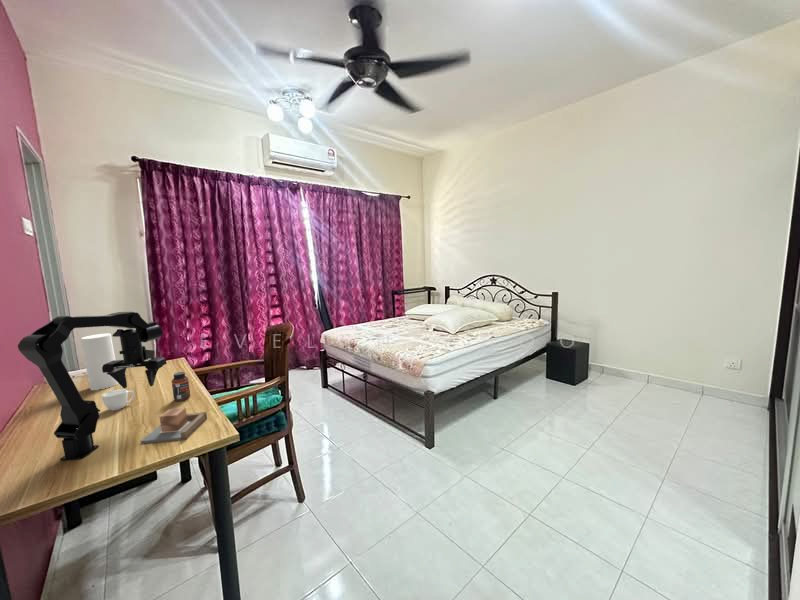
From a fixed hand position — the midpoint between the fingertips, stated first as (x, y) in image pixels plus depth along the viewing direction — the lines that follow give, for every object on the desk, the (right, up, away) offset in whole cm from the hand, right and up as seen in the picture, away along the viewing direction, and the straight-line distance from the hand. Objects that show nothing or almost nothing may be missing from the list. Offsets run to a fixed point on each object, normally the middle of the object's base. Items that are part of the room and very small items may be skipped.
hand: (138, 387), depth 121 cm
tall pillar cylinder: (-48, -10, +40) cm, 63 cm away
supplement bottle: (+3, -10, +20) cm, 23 cm away
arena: (+18, -13, -7) cm, 24 cm away
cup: (-18, -12, +14) cm, 26 cm away
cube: (+18, -12, -6) cm, 22 cm away
